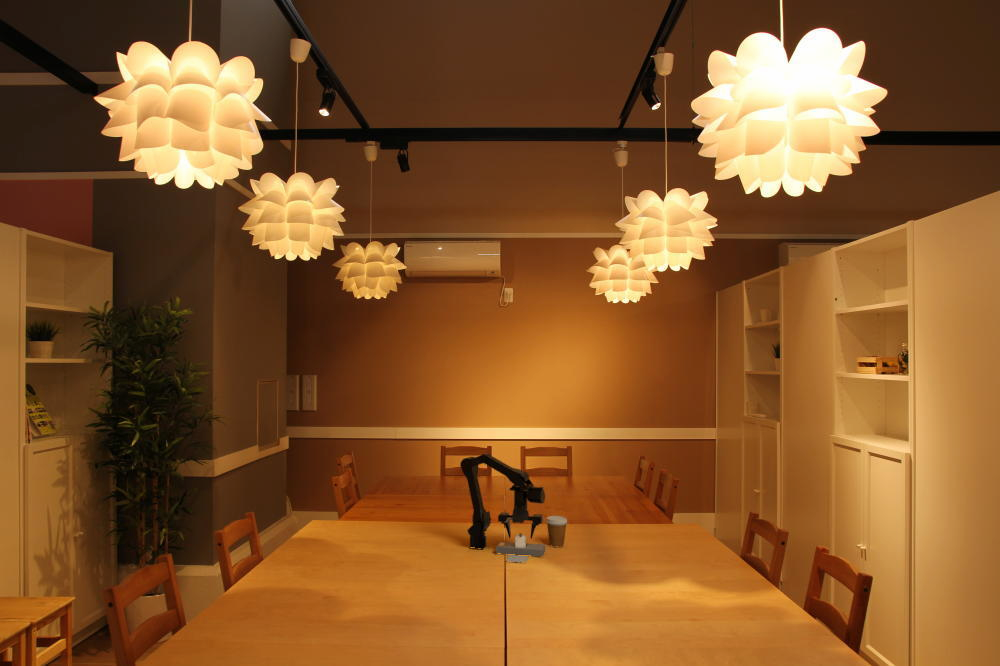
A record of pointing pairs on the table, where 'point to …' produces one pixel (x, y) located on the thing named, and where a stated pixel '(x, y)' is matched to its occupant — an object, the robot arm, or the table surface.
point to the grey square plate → (517, 558)
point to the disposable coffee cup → (556, 530)
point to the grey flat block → (520, 549)
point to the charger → (520, 541)
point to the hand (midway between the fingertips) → (520, 538)
